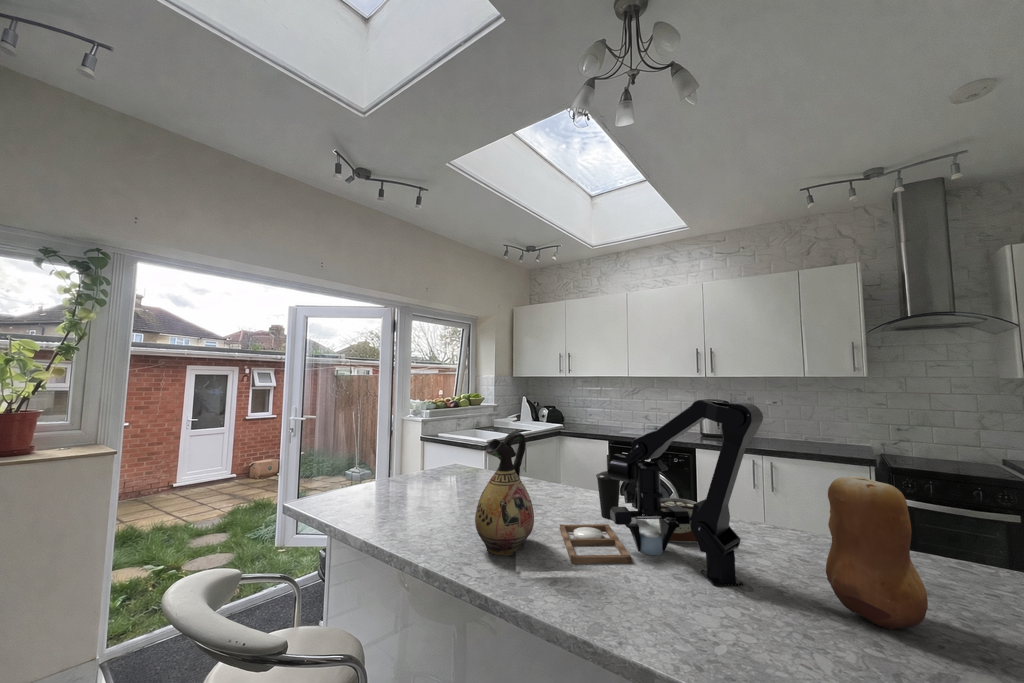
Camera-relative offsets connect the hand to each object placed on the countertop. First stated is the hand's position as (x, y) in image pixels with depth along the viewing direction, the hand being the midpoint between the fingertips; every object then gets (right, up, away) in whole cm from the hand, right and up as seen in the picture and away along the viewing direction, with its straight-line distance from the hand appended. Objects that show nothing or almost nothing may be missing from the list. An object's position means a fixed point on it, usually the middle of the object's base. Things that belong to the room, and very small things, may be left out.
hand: (650, 550), depth 103 cm
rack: (-14, -2, +4) cm, 15 cm away
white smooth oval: (-14, -1, +9) cm, 17 cm away
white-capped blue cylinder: (0, -1, 0) cm, 1 cm away
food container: (+11, -2, +11) cm, 16 cm away
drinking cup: (-4, -4, +26) cm, 26 cm away
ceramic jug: (-36, -2, +5) cm, 36 cm away
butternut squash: (+31, +2, -29) cm, 42 cm away
